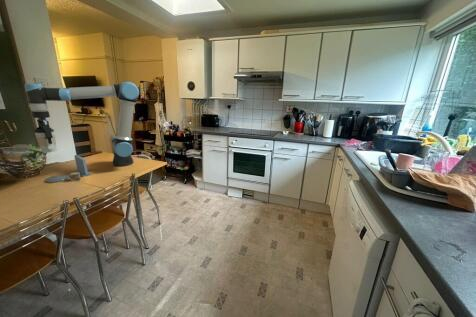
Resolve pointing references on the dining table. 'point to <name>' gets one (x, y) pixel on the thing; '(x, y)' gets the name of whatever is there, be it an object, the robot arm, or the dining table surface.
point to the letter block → (75, 176)
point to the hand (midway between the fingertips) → (49, 147)
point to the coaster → (56, 178)
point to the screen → (81, 166)
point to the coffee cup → (44, 140)
